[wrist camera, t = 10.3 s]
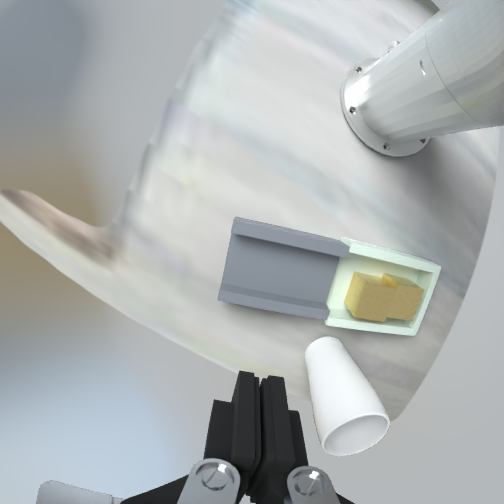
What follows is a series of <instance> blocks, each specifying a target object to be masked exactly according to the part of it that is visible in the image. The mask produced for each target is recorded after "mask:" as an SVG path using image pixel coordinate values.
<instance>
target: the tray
mask: <svg viewBox="0 0 504 504" xmlns="http://www.w3.org/2000/svg"><path fill="white" fill-rule="evenodd" d="M341 241H342V242H343V243H345V244H346V245H348V246H349V247H350V249H349V253H348V256H347V258H344V257H340V259H339V262H338V266H337V269H336V272H335V276H334V279H333V282H332V285H331V289H330V292H329V295H328V298H327V301H326V305H327V306H328V308H329V310H330V313H329V316H328V318H327V320H323V321H324V323H325V325H328V326H335V327H342V328H349V329H357V330H365V331H373V332H382V333H391V334H400V335H411V336H415V335H416V333H417V330H418V328H419V326H420V324H421V321H422V319H423V316H424V314H425V312H426V309H427V307H428V304H429V301H430V299H431V296H432V293H433V291H434V288H435V285H436V282H437V279H438V276H439V273H440V270H441V266H439V265H437V264H435V263H433V262H431V261H429V260H426V259H423V258H421V257H417V256H414V255H410V254H406V253H403V252H399V251H395V250H392V249H388V248H384V247H381V246H377V245H373V244H369V243H365V242H362V241H358V240H354V239H350V238H346V237H342V238H341ZM354 271H355V272H359V273H364V274H368V275H373V276H377V277H382V276H383V273H386V274H390V275H395V276H399V277H403V278H407V279H409V280H411V281H412V282H414V283H415V284H417V285H418V286H420V287H421V288H423V289H424V292H423V295H422V298H421V300H420V303H419V305H418V308H417V310H416V313H415V315H414V317H413V320H412V321H410V320H403V319H396V318H389V317H386V319H385V321H384V322H382V321H375V320H369V319H362V318H356V317H354V316H353V315H352V313H351V312H350V311H349V309H348V308H347V306H346V305H345V304H344V300H345V297H346V294H347V291H348V288H349V285H350V282H351V279H352V276H353V273H354Z"/></svg>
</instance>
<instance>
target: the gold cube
mask: <svg viewBox="0 0 504 504" xmlns="http://www.w3.org/2000/svg"><path fill="white" fill-rule="evenodd" d="M396 290H397V289H396V288H395V287H394V286H392V285H391V284H390V283H388V282H387V281H386V280H385V279H383V278H382V277H377V276H373V275H368V274H364V273H359V272H355V271H354V273H353V276H352V279H351V282H350V285H349V288H348V291H347V294H346V297H345V300H344V304H345V305H346V306H347V308H348V309H349V311H350V312H351V313H352V315H353V316H354V317H356V318H362V319H369V320H375V321H382V322H384V321H385V319H386V316H387V314H388V311H389V309H390V306H391V304H392V301H393V299H394V296H395V293H396Z"/></svg>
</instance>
